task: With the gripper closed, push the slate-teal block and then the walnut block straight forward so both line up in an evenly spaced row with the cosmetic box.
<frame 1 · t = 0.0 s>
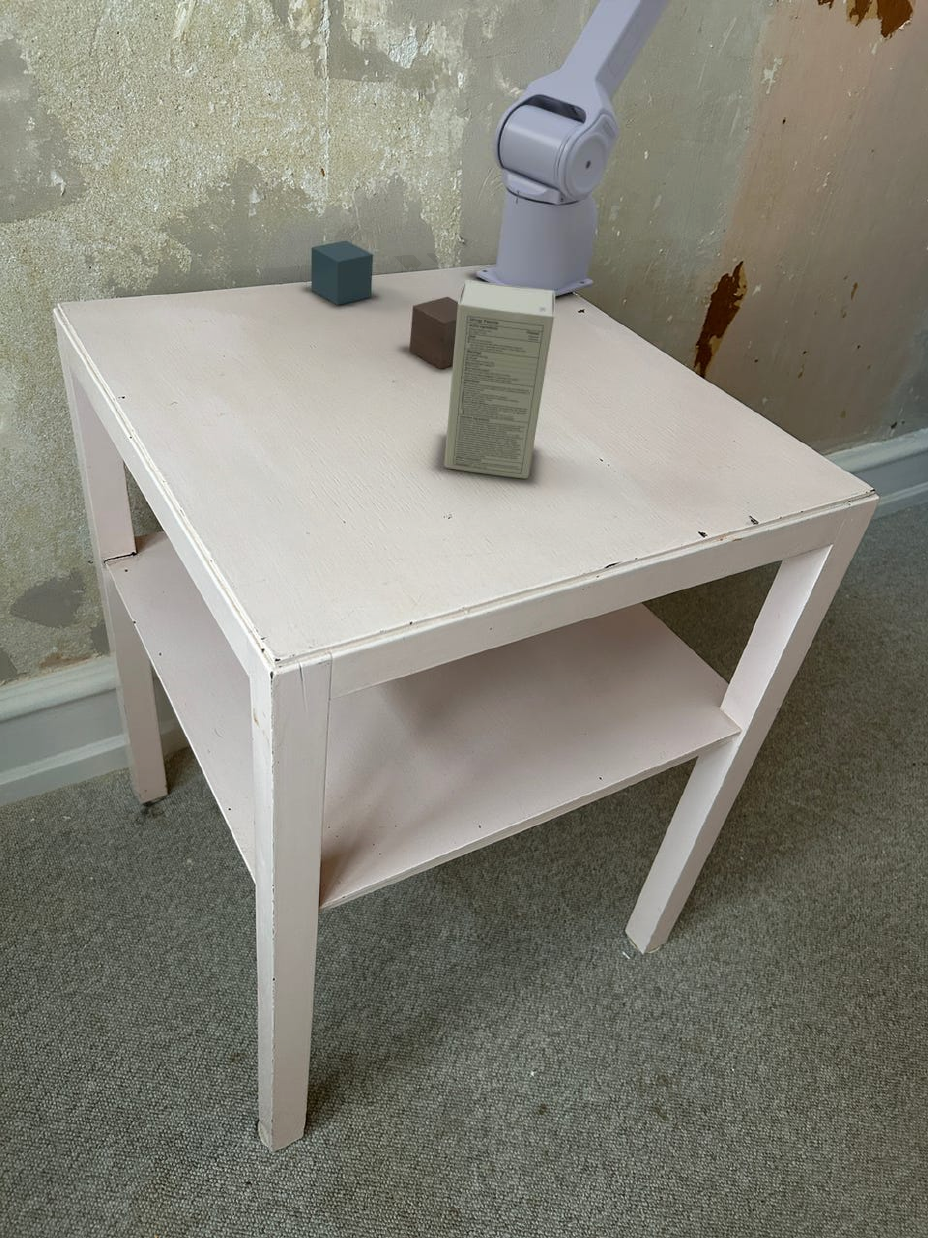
slate block: (341, 293, 88), on the table
cosmetic box: (486, 462, 68), on the table
walnut block: (442, 354, 81), on the table
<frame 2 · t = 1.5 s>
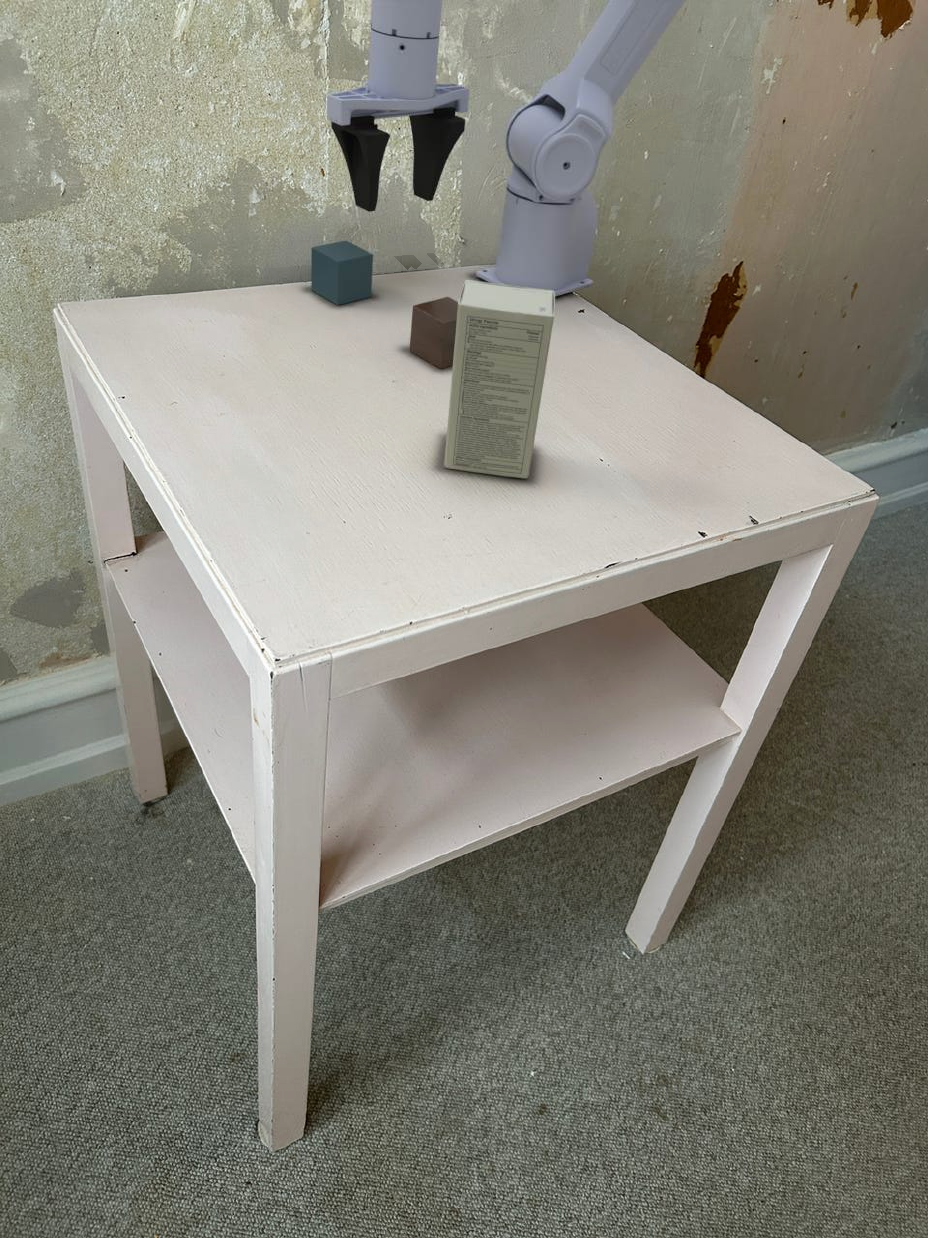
hand: (394, 202, 87), 7 cm above the table, tool pointing down, fingers open, 6 cm apart
nothing on the table moved.
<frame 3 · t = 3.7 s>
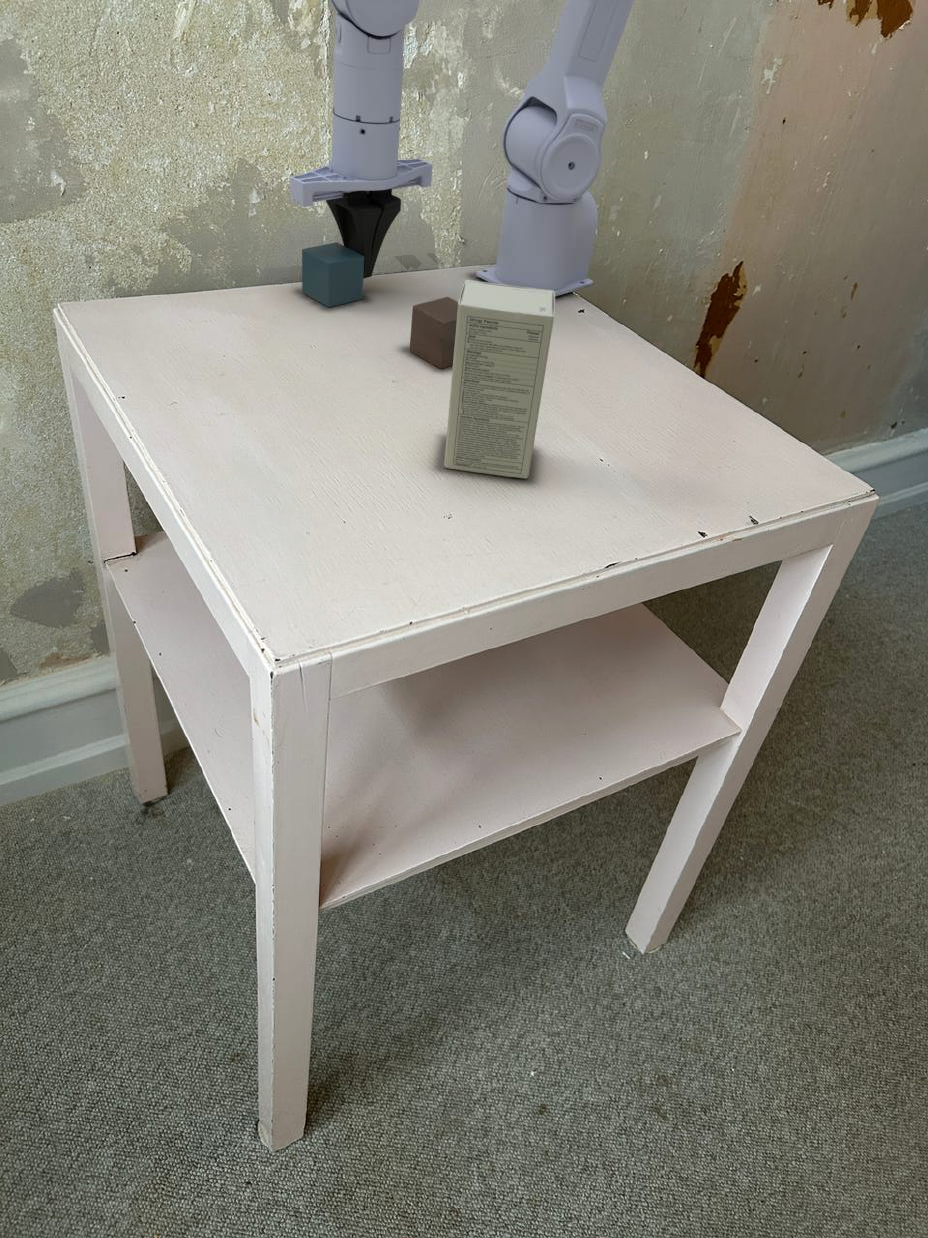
hand: (360, 274, 89), 1 cm above the table, tool pointing down, fingers closed
slate block: (332, 295, 88), on the table, touching gripper
everything else where it was.
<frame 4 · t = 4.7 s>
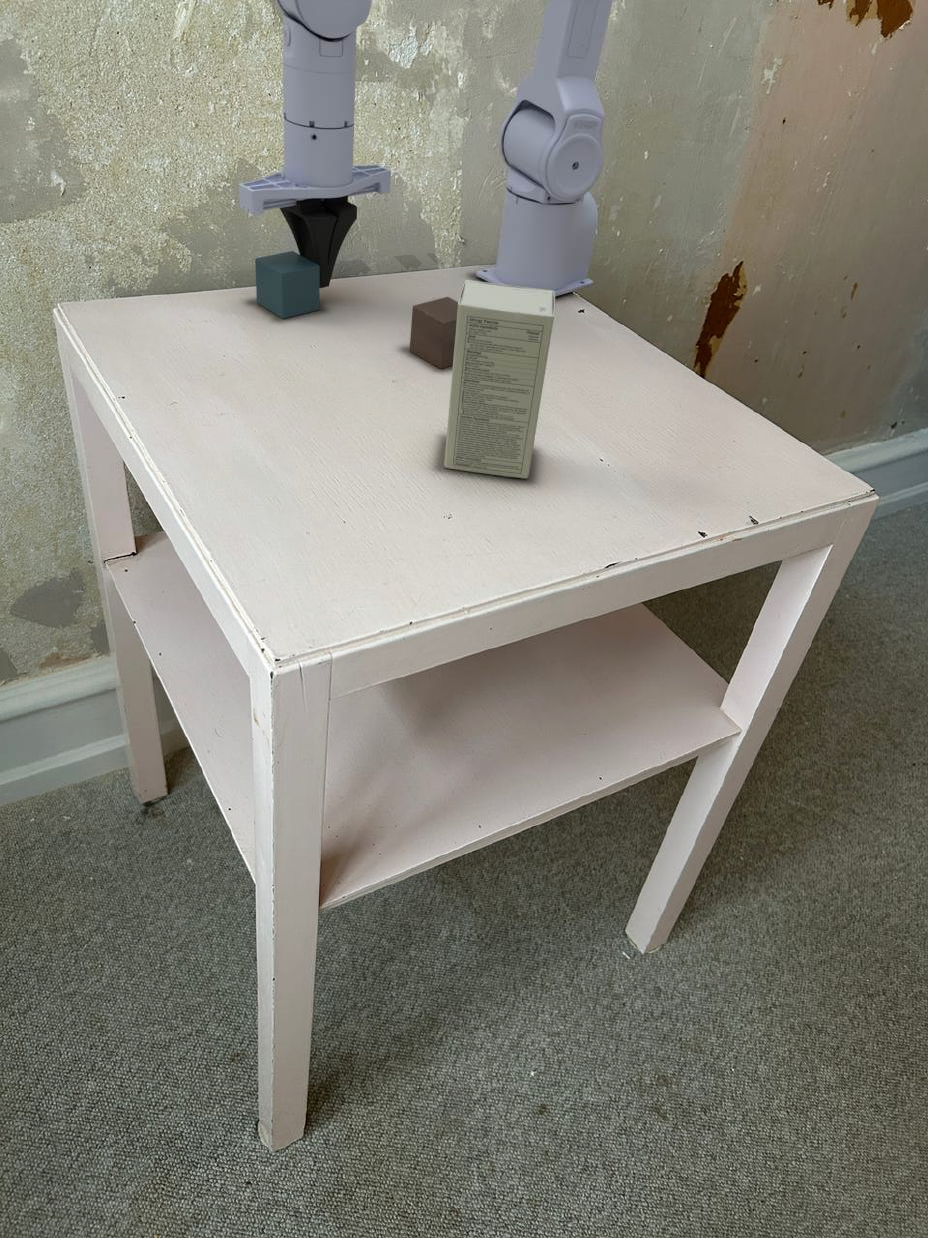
hand: (317, 283, 86), 1 cm above the table, tool pointing down, fingers closed
slate block: (288, 306, 85), on the table, touching gripper
everything else where it was.
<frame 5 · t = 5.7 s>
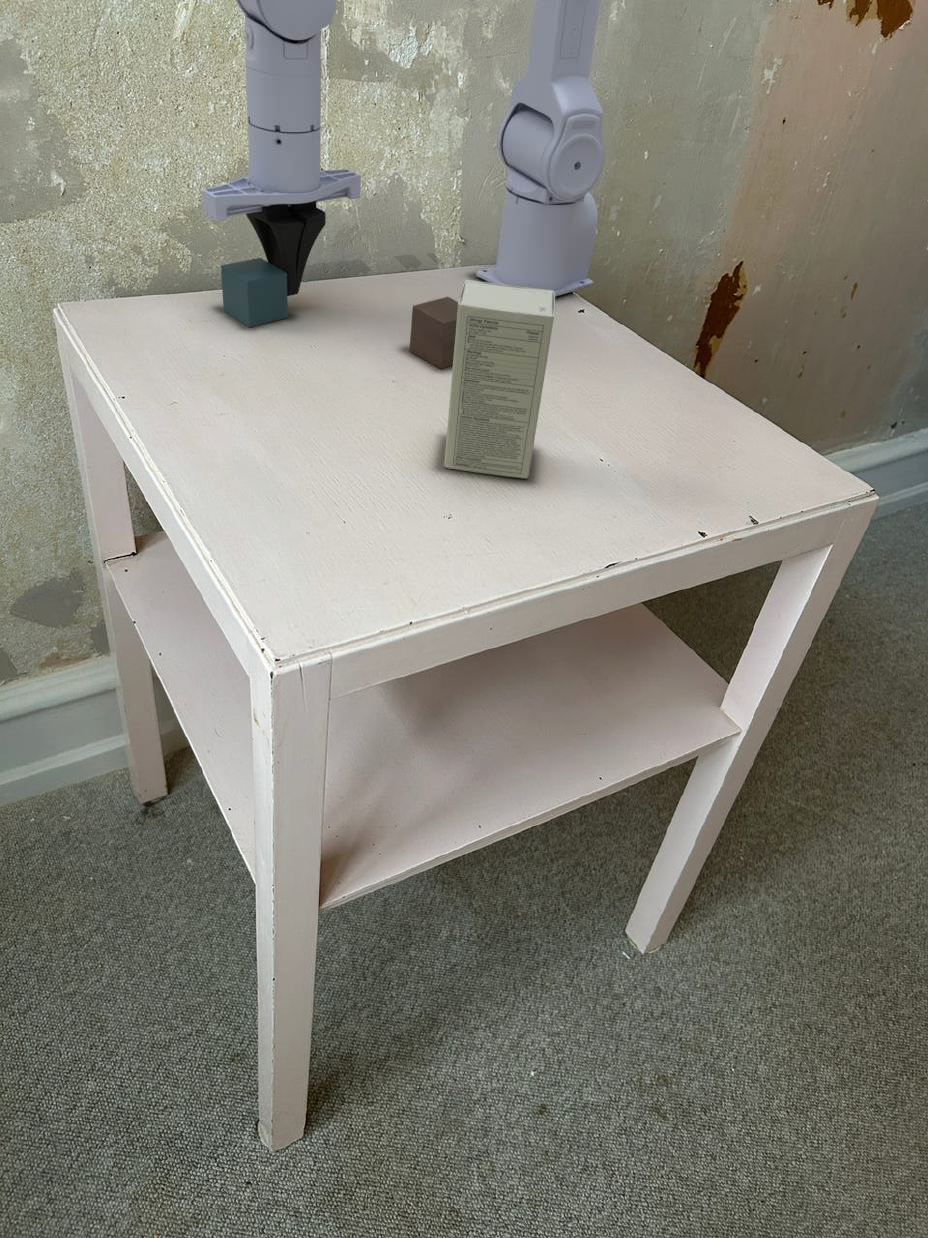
hand: (286, 291, 84), 1 cm above the table, tool pointing down, fingers closed
slate block: (255, 314, 83), on the table, touching gripper
everything else where it was.
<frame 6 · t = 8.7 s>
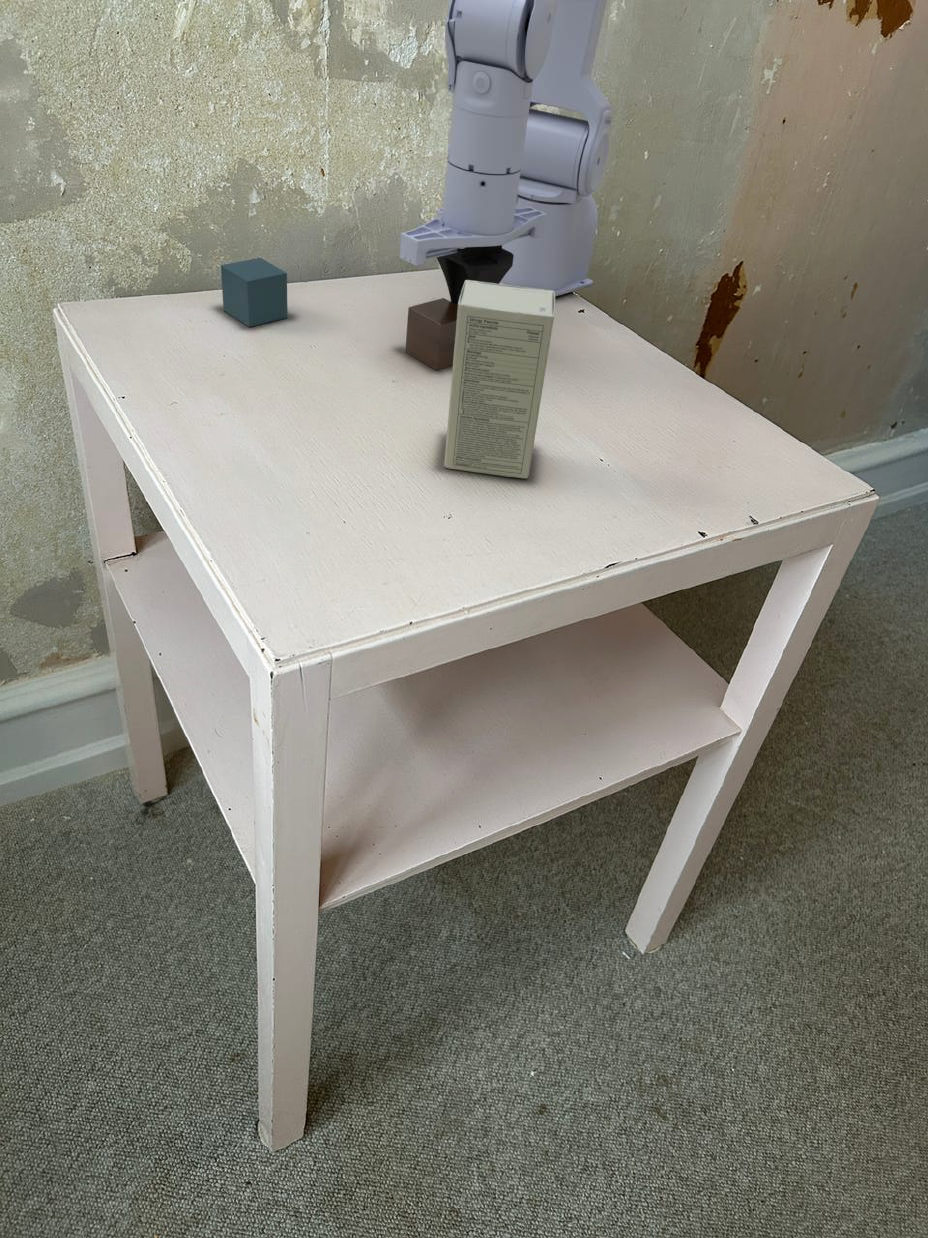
hand: (464, 332, 81), 1 cm above the table, tool pointing down, fingers closed
slate block: (255, 314, 83), on the table
walnut block: (438, 356, 81), on the table, touching gripper
everything else where it was.
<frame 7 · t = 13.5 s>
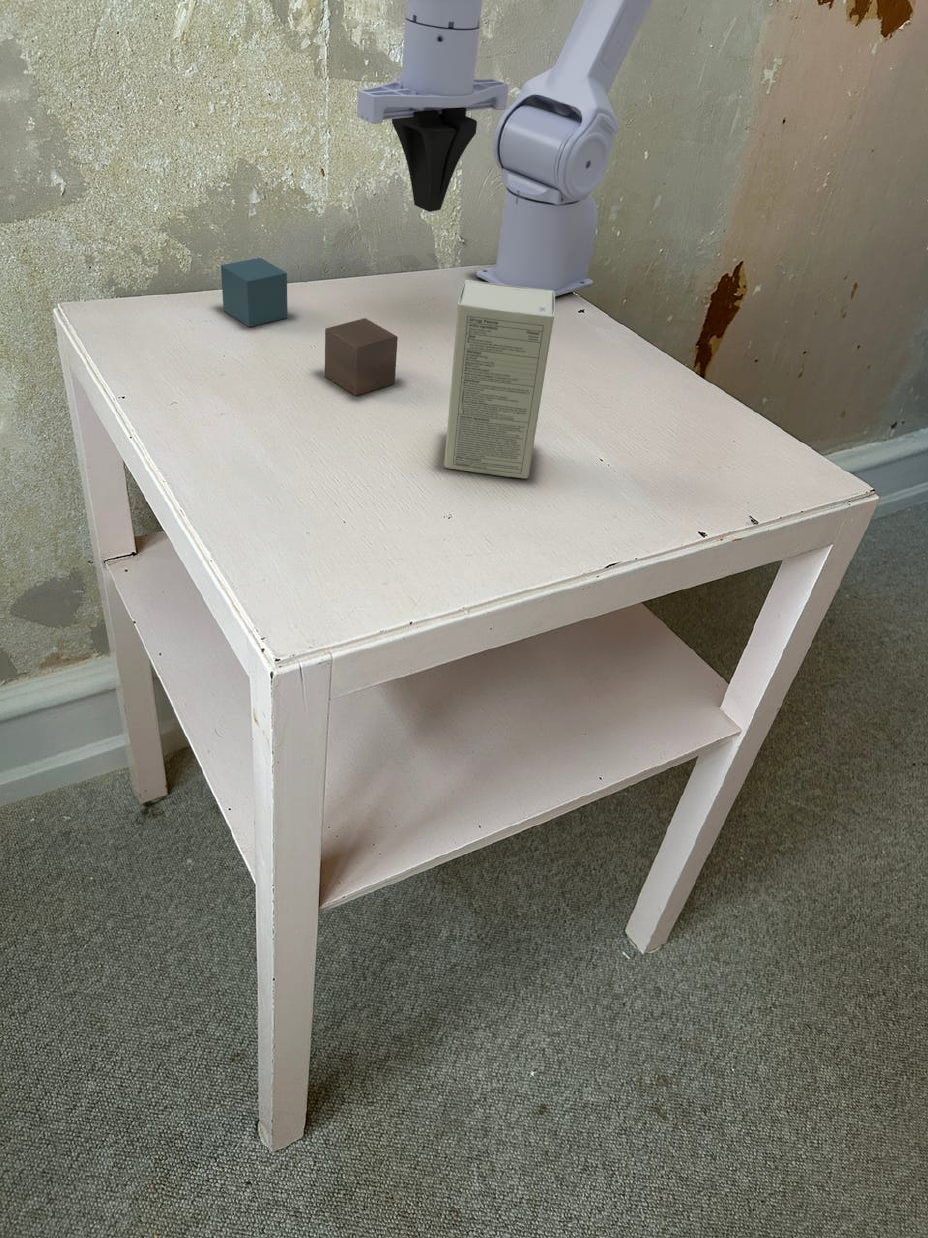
hand: (427, 207, 81), 9 cm above the table, tool pointing down, fingers closed
walnut block: (359, 379, 76), on the table
everything else where it was.
at the end: slate block 0.0 cm from the target spot on the table beside the cosmetic box, on the table; walnut block 0.0 cm from the target spot on the table beside the cosmetic box, on the table; cosmetic box moved 0.2 cm from its start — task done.
